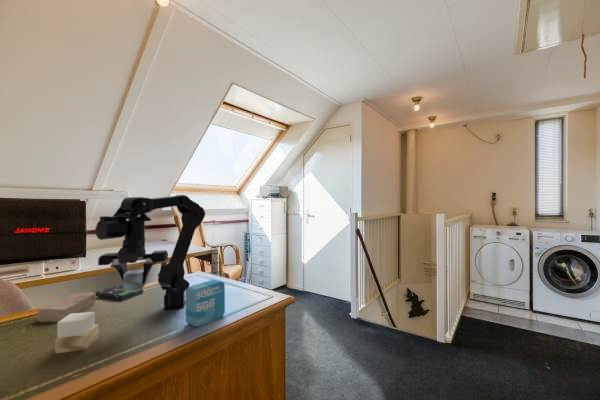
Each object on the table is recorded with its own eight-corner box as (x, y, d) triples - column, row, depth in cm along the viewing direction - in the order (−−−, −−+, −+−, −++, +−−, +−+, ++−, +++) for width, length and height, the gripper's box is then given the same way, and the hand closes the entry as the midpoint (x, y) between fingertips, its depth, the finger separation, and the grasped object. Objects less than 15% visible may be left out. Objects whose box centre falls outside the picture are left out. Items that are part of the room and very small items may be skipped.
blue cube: (145, 284, 93) (145, 269, 93) (141, 289, 88) (141, 273, 88) (128, 285, 91) (128, 270, 92) (123, 290, 87) (123, 274, 87)
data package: (193, 328, 85) (193, 289, 85) (185, 325, 88) (185, 287, 88) (225, 315, 95) (224, 280, 95) (216, 312, 98) (216, 278, 98)
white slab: (94, 325, 80) (94, 311, 80) (83, 335, 74) (83, 320, 74) (70, 327, 79) (70, 313, 79) (57, 337, 73) (57, 322, 73)
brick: (61, 322, 92) (61, 307, 92) (35, 323, 91) (35, 308, 91) (96, 304, 108) (96, 291, 108) (74, 304, 108) (74, 292, 108)
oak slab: (98, 337, 81) (98, 324, 81) (86, 350, 74) (86, 335, 74) (69, 341, 79) (69, 327, 79) (55, 354, 72) (55, 339, 72)
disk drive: (94, 299, 114) (122, 302, 110) (94, 292, 114) (122, 295, 110) (117, 291, 124) (144, 293, 120) (117, 284, 124) (143, 287, 120)
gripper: (89, 240, 80) (89, 294, 80) (160, 237, 84) (160, 289, 84) (105, 235, 90) (106, 283, 90) (168, 233, 95) (168, 279, 95)
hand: (134, 284), depth 90 cm, fingers closed on blue cube, 5 cm apart
